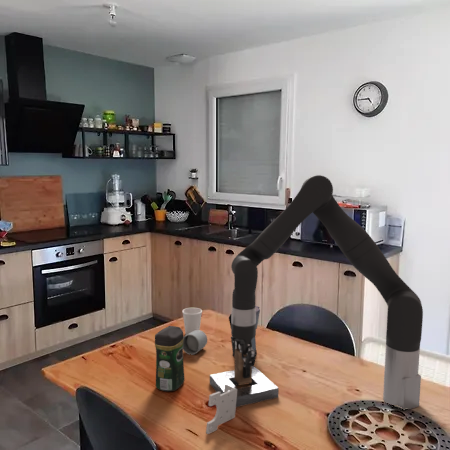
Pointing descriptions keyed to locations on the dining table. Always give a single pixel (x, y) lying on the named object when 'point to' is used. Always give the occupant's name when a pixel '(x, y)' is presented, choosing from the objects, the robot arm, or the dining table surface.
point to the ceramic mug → (194, 342)
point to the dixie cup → (191, 319)
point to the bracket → (222, 407)
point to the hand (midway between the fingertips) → (243, 374)
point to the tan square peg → (241, 369)
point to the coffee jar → (169, 358)
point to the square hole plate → (246, 395)
